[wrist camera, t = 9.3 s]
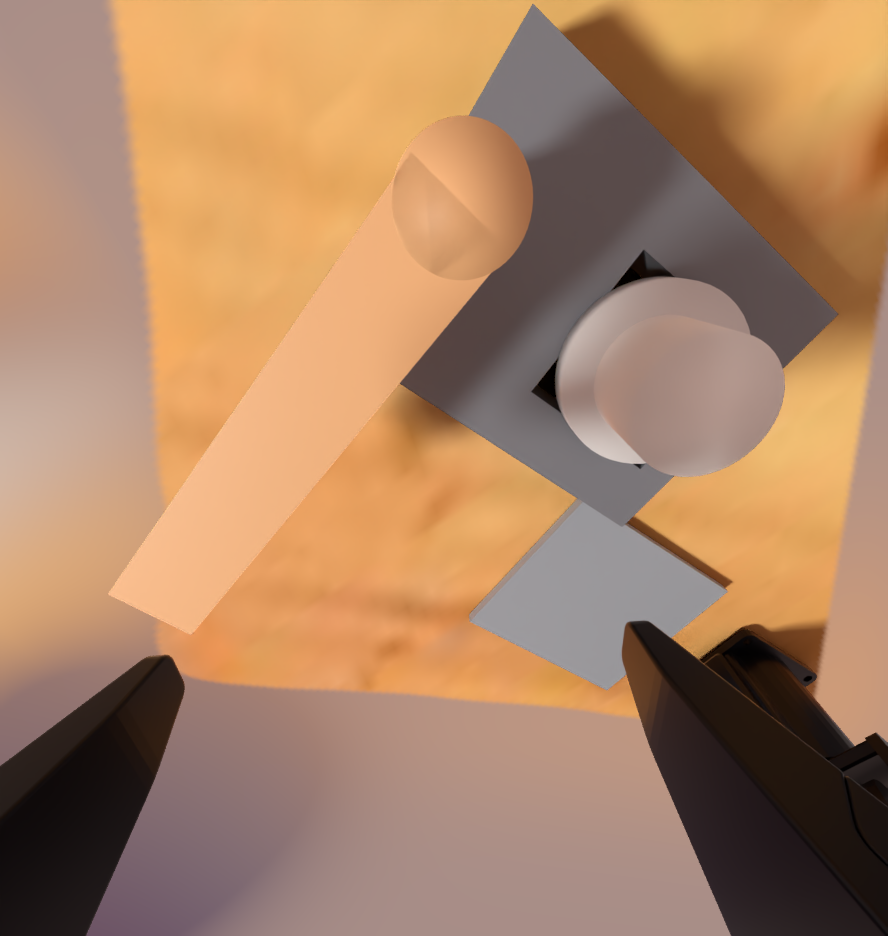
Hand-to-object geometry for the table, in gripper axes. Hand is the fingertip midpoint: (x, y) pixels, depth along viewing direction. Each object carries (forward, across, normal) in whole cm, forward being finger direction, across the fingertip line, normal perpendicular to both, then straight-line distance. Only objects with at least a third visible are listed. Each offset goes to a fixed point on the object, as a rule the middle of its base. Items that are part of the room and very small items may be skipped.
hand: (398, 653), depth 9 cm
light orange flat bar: (+4, +2, -4) cm, 6 cm away
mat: (+12, -8, +10) cm, 18 cm away
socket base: (+12, -6, -4) cm, 14 cm away
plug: (+12, -8, -3) cm, 14 cm away
